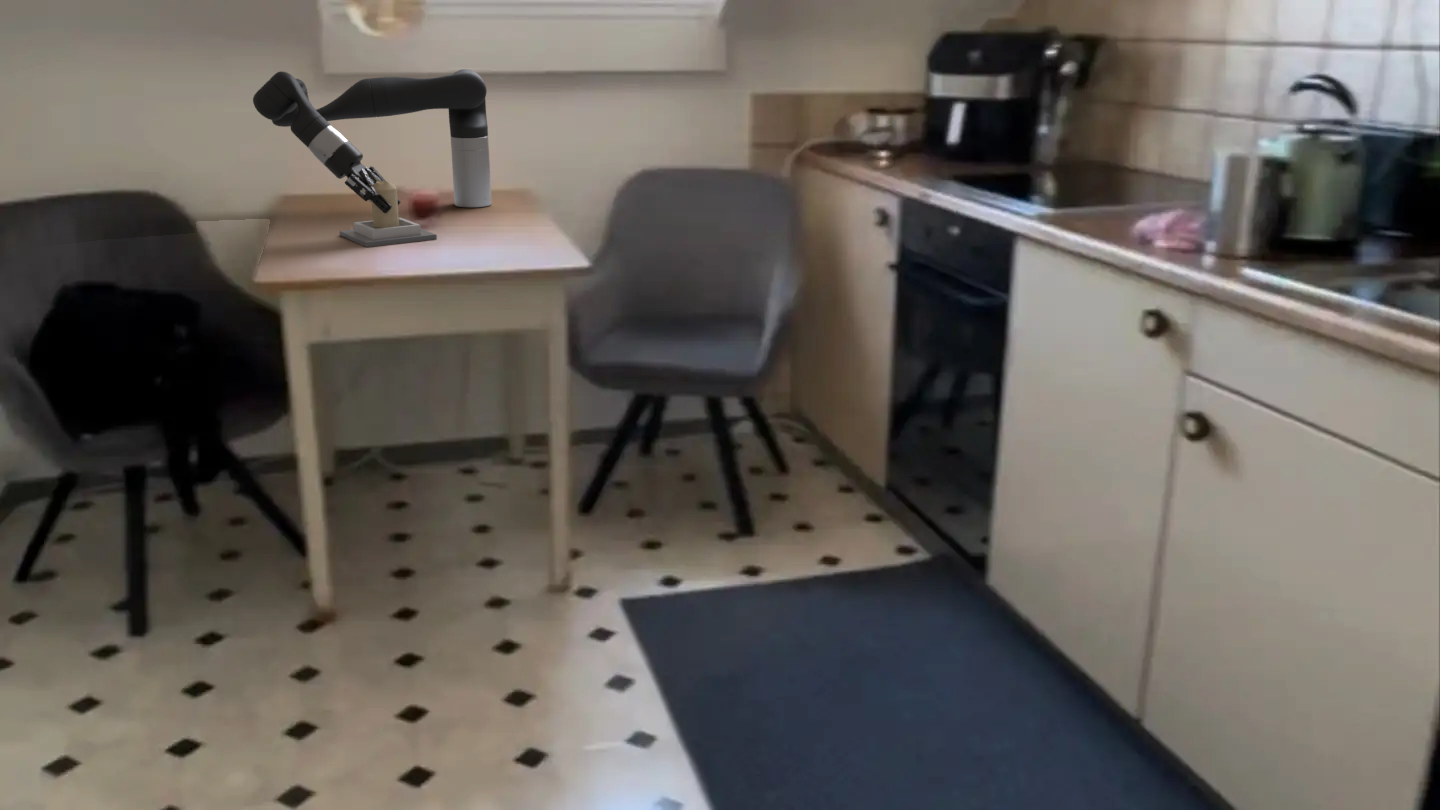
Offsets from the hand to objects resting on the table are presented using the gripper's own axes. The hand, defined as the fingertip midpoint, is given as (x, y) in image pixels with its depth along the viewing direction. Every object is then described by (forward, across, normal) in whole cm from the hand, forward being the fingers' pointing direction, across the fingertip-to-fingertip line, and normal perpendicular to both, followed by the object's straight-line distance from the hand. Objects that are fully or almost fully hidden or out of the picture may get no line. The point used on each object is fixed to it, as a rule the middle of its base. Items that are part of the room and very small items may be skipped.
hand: (393, 207), depth 273 cm
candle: (+2, 0, -4) cm, 5 cm away
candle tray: (+3, 0, -6) cm, 7 cm away
